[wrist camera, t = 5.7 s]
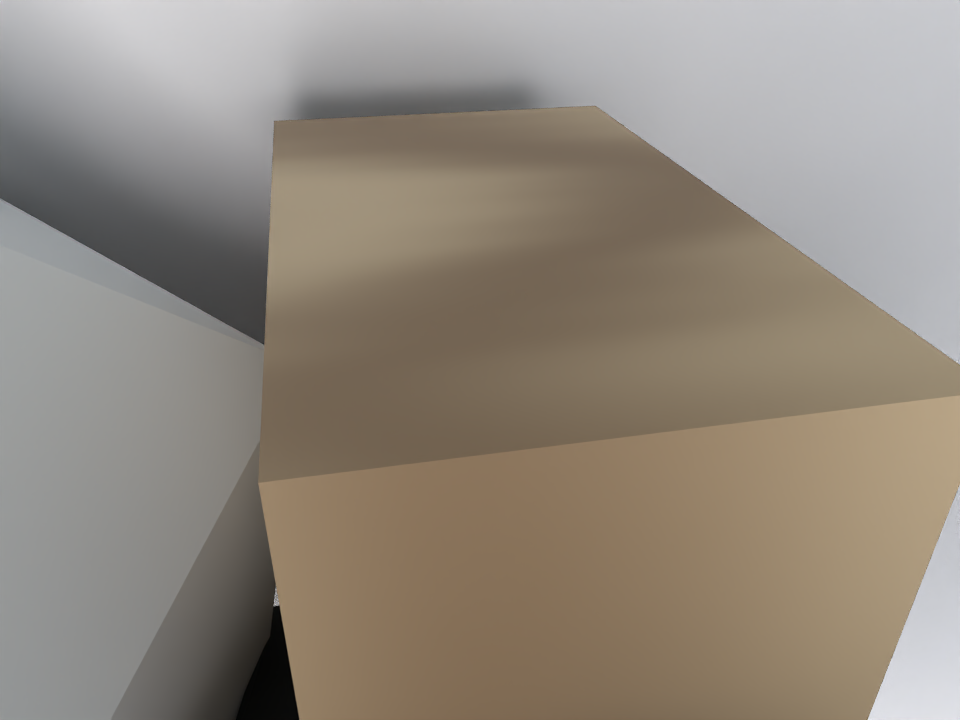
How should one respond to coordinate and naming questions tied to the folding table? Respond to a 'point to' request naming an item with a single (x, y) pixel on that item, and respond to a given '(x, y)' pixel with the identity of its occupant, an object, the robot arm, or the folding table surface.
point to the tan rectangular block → (578, 435)
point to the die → (124, 492)
